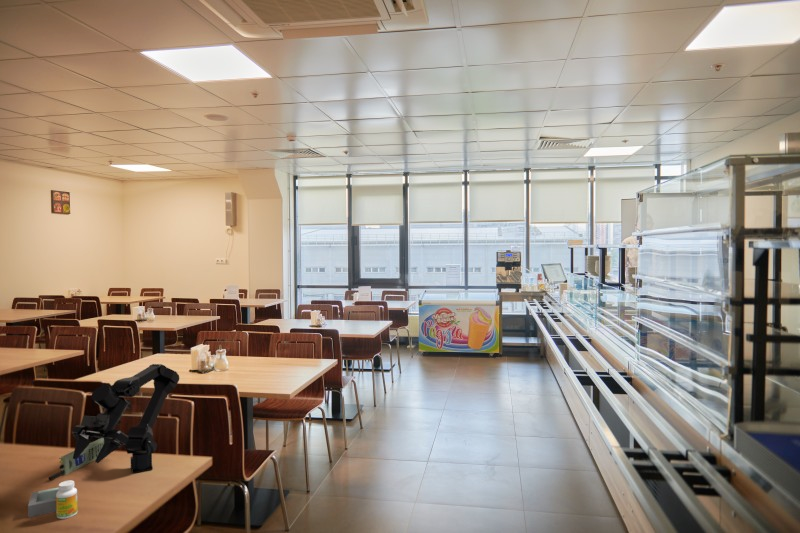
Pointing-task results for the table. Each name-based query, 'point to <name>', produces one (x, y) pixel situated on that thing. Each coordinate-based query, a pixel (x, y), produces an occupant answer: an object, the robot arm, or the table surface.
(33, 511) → the dock
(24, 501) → the table surface
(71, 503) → the supplement bottle
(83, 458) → the handheld radio
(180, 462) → the table surface
